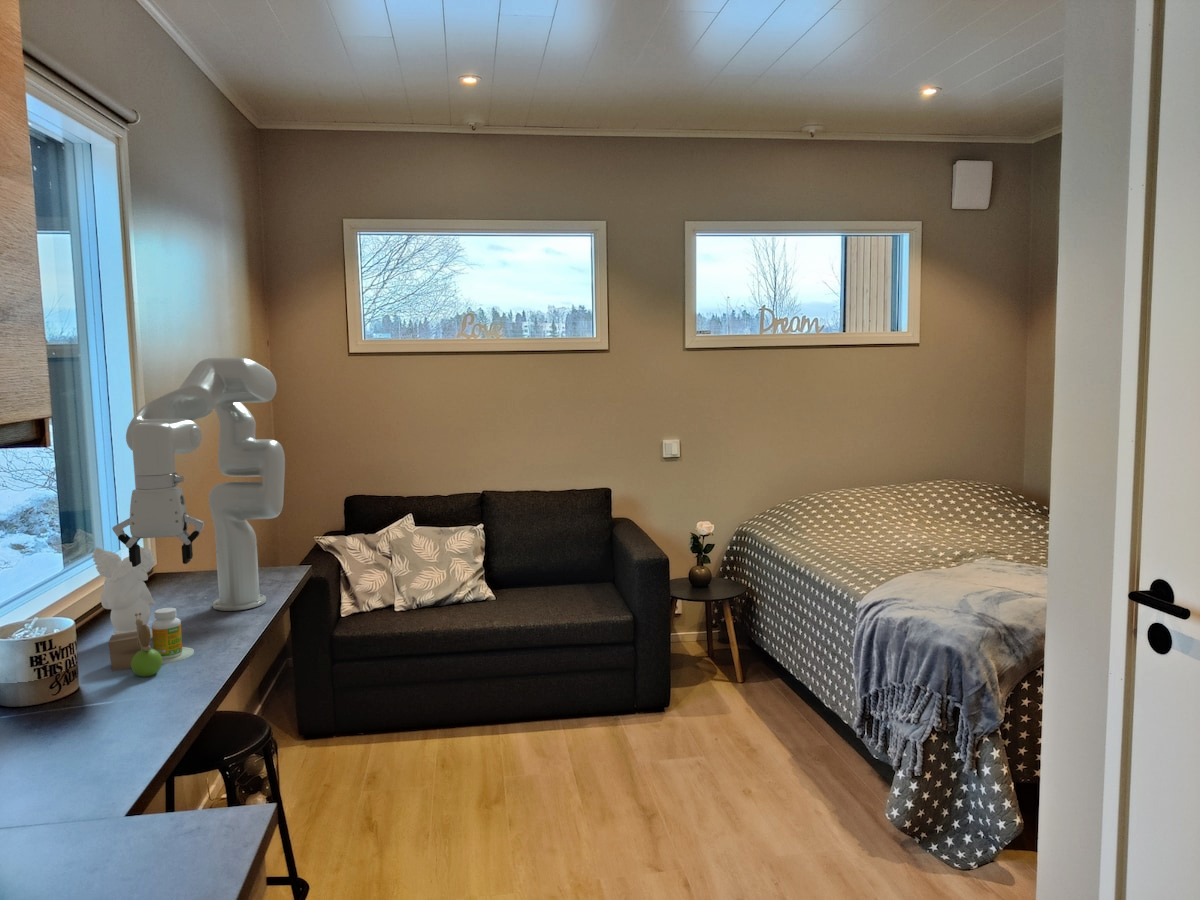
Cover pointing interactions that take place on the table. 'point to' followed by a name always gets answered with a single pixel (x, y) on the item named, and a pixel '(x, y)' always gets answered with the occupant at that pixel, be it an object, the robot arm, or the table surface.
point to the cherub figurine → (125, 588)
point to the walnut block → (123, 649)
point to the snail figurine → (145, 653)
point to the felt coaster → (185, 653)
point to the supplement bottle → (167, 633)
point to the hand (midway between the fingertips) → (161, 563)
